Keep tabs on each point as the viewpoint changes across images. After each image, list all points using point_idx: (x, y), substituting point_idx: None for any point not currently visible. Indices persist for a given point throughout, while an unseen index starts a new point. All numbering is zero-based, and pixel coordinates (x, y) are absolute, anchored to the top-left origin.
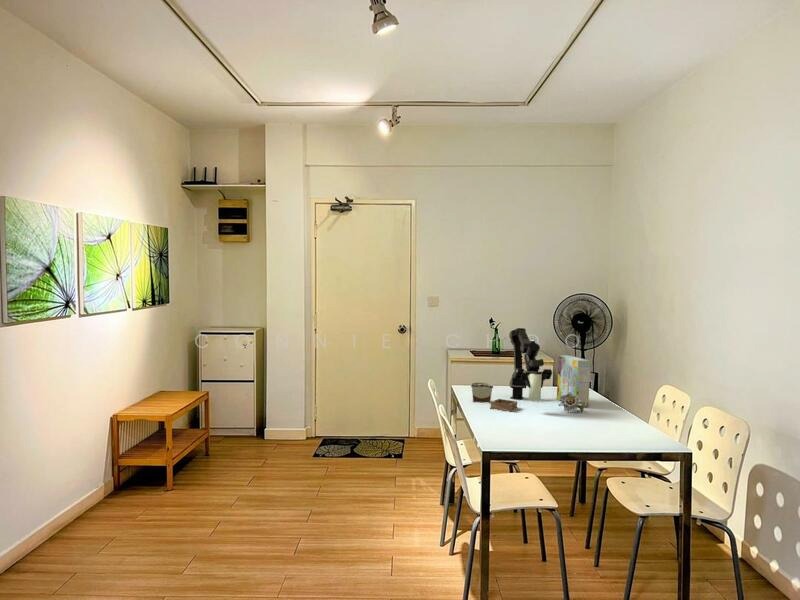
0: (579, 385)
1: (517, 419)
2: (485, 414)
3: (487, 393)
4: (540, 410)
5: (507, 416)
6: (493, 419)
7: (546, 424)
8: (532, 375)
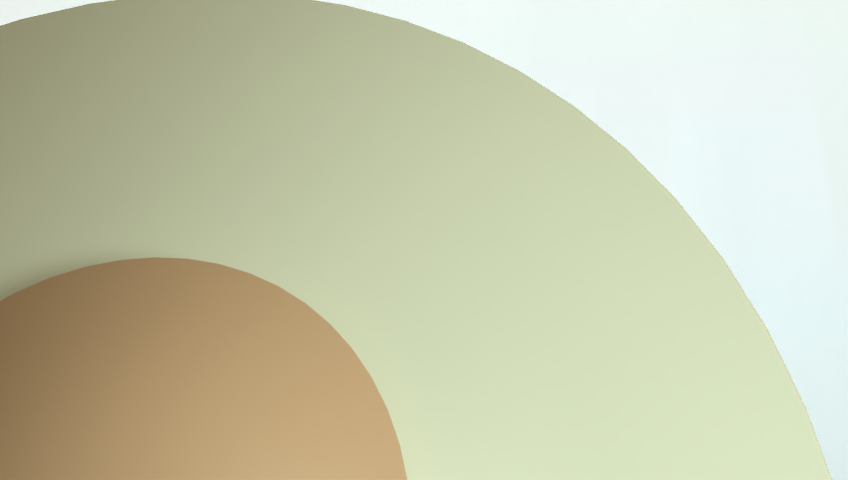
0: None
1: (615, 134)
2: None
3: None
4: None
5: (714, 237)
6: (838, 112)
7: (374, 4)
8: (577, 119)
